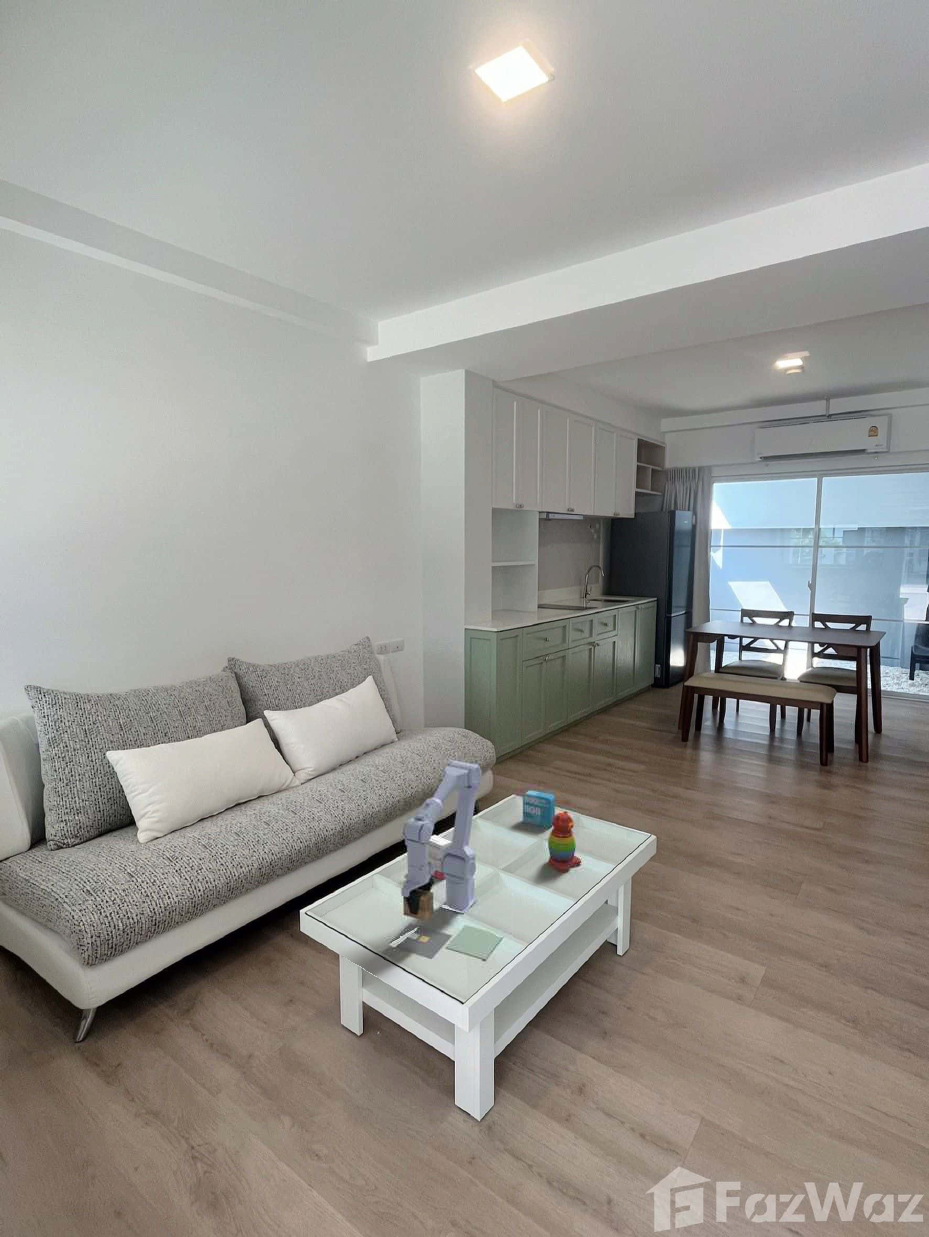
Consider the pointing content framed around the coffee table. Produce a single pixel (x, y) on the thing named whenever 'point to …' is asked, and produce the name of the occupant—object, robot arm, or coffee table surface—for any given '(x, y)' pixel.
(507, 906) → the coffee table surface
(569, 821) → the stacking bear
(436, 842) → the ink box
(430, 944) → the grey flat rectangular plate
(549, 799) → the data package
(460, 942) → the mat
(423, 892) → the walnut block
